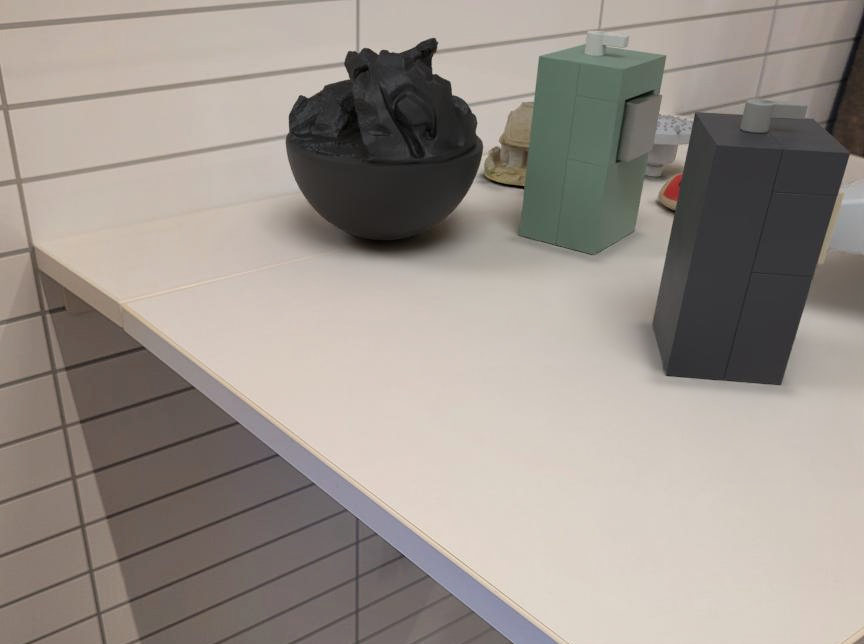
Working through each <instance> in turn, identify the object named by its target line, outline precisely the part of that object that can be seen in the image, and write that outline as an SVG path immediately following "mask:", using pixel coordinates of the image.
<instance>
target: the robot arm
mask: <svg viewBox="0 0 864 644" xmlns="http://www.w3.org/2000/svg"><path fill="white" fill-rule="evenodd" d="M840 189H841V190H842V191H843V192H844V197H843V200H842V203H841V207H840V210H839V213H838V217H837V220H836V223H835V227H834V230H833V233H832V237H831V240H830V243H829V247H828V250H827V251H832V252H839V253H845V254H852V255H859V256H864V176H863V177H861V178H858V179H856V180H853V181H852V182H850V183H847V184H841V186H840Z"/></svg>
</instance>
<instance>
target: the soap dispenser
mask: <svg viewBox="0 0 864 644" xmlns="http://www.w3.org/2000/svg"><path fill="white" fill-rule="evenodd" d="M629 42H630V35H627V34H619V33H612V32H607V31H604V30H588V31H587V32H586V37H585V43H584V44H580V45H576V46H573V47H569V48H565V49H561V50H556V51H553V52H549V53H546V54H542V55H539V56H538V61H537V62H538V63H537V71H536V79H535V80H536V82H535V89H534V98H533V102H534V106H533V115H532V124H531V133H530V142H529V151H528V160H527V169H526V178H525V186H523V196H522V197H523V198H522V205H521V206H522V207H521V215H520V224H519V234H518V236H520V237H524V238H528V239H531V240H536V241H540V242H543V243H546V244H551V245H554V246H559V247H563V248H566V249H570V250H573V251H577V252H581V253H586V254H588V255H593V256H595V255H596V254H598V253H600V252H601V251H603V250H605V249H607V248H608V247H610V246H611V245H613V244H615V243H617V242H618V241H620V240H622V239H623V238H625V237H627V236H628V235H630V234H631V233H633V232H635V231H636V226H637V221H638V216H639V210H640V204H641V200H642V199H641V198H642V193H643V187H644V182H645V176H646V175H645V171H646V166H647V160H648V155H649V152H647V153H645V154H643V155H641V156H639V157H637V158H635V159H632V160H630V161H628V162H626V161H621V160H616V155H617V149H618V143H619V136H620V130H621V124H622V118H623V112H624V106H625V102H627V101H630V100H633V99H635V98H638V97H641V96H643V95H646V94H649V93H653V94H659V95H661V89H662V88H661V87H662V83H663V78H664V73H665V72H664V71H665V66H666V61H667V54H660V53H655V52H654V53H652V52H647V51H639V50H631V49H625V48H628V47H629Z"/></svg>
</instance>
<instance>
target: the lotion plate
mask: <svg viewBox="0 0 864 644" xmlns="http://www.w3.org/2000/svg"><path fill="white" fill-rule="evenodd" d="M843 197H844V192H843V191H842V190H841V189H839V193H838V196H837V199H836V202H835V206H834V209H833V212H832V216H831V219H830V222H829V226H828V229H827V233H826V236H825V239H824V243H823V246H822V249H821V253H820V256H819V259H818V263H817V265H824V263H825V260H826V256H827V252H828V251H829V250H828V247H829V243H830V240H831V237H832V233H833V230H834V227H835V223H836V220H837V217H838V213H839V210H840V207H841V203H842V200H843Z"/></svg>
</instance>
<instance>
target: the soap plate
mask: <svg viewBox="0 0 864 644" xmlns="http://www.w3.org/2000/svg"><path fill="white" fill-rule="evenodd" d="M662 100H663V95H662V94H653V93H649V94H646V95H643V96H641V97H638V98H635V99H633V100H630V101H627V102H625V106H624V112H623V118H622V124H621V130H620V136H619V143H618V149H617V155H616V160H621V161H626V162H628V161H630V160H632V159H635V158H637V157H639V156H641V155H643V154H645V153H647V152H649V151H651V150H652V149H653V144H654V138H655V133H656V127H657V122H658V116H659V114H660V110H661V106H662V105H661V104H662Z"/></svg>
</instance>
